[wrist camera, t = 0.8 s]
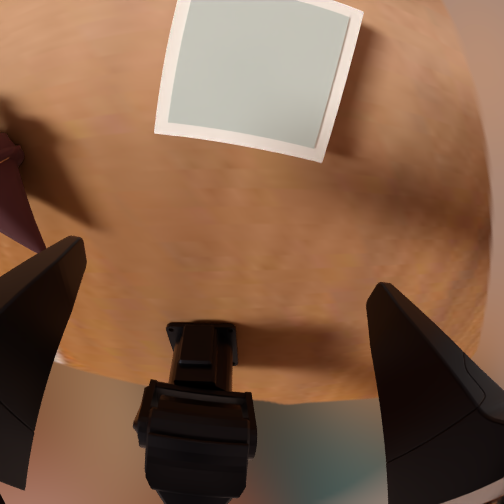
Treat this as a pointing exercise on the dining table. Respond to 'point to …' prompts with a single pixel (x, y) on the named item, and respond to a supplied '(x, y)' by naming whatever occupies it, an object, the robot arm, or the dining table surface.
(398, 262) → the dining table surface
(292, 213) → the dining table surface
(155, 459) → the robot arm
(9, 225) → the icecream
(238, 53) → the tile base
